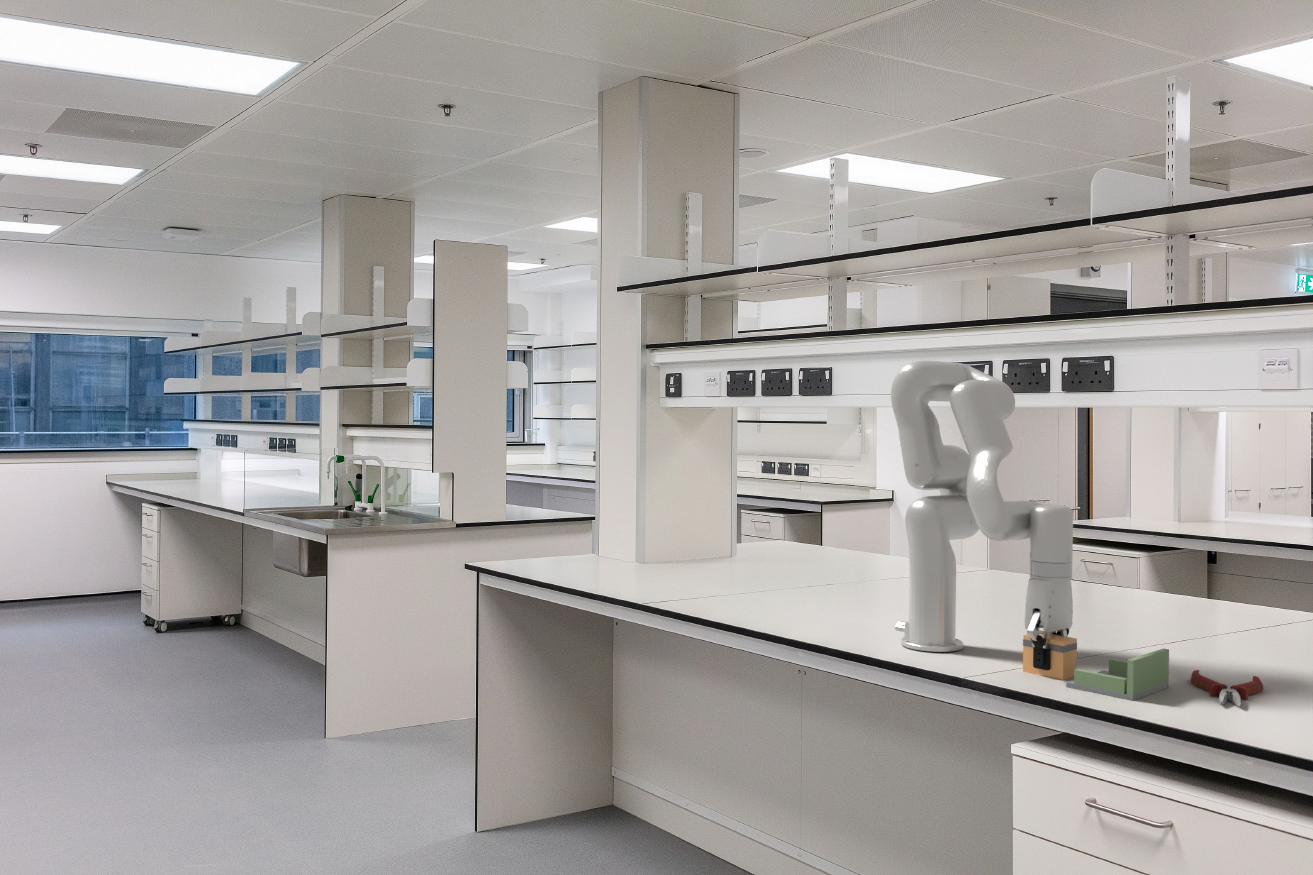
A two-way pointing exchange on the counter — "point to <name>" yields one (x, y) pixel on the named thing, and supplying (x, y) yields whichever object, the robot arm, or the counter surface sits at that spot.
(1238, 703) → the pliers
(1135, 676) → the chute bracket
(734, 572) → the counter surface
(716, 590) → the counter surface
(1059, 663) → the chute block
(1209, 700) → the counter surface
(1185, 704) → the counter surface
